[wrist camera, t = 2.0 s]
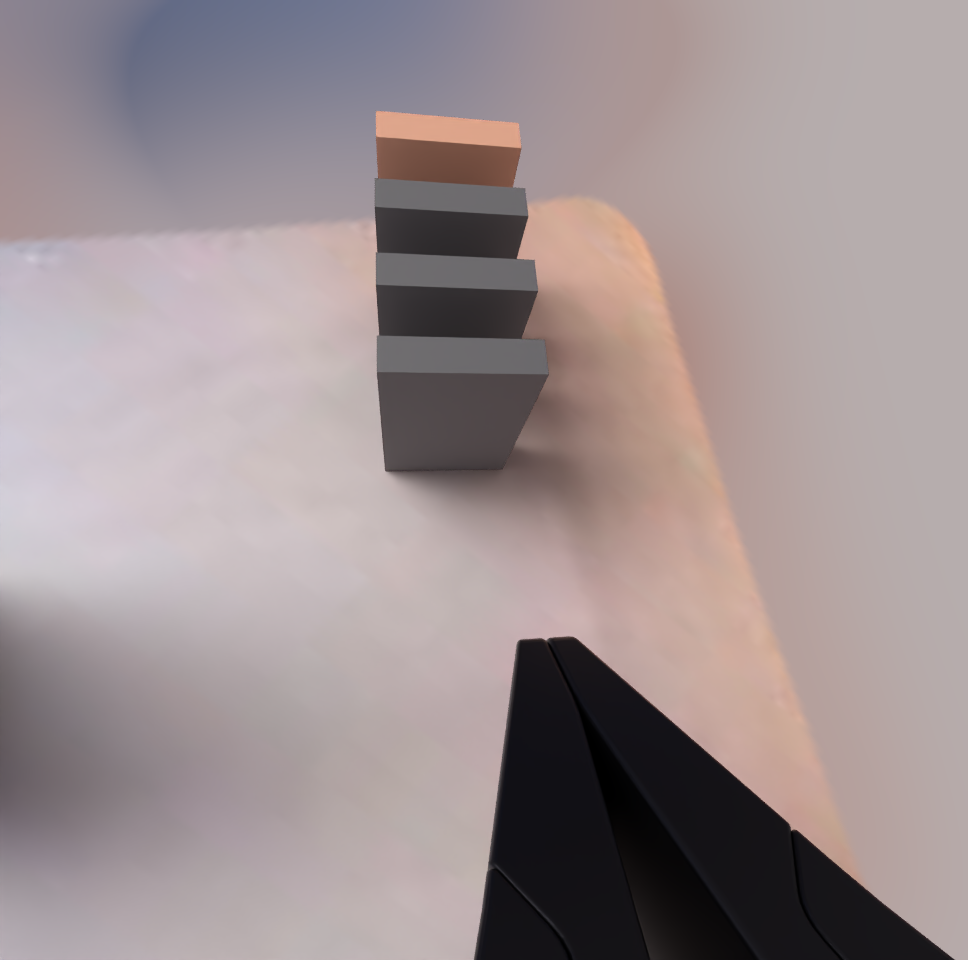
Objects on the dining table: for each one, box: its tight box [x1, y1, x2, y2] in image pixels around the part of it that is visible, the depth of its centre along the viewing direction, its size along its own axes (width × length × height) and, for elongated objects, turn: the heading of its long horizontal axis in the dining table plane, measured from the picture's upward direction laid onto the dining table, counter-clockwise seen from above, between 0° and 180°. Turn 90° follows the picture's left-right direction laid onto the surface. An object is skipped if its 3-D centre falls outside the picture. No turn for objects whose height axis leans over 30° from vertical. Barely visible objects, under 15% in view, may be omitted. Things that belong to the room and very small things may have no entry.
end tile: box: [376, 111, 521, 187], centre depth 23 cm, size 1×5×8 cm, turn 94°
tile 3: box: [375, 178, 528, 259], centre depth 22 cm, size 1×5×8 cm, turn 94°
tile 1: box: [377, 336, 549, 471], centre depth 20 cm, size 1×5×8 cm, turn 94°
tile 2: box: [376, 252, 538, 339], centre depth 21 cm, size 1×5×8 cm, turn 93°
